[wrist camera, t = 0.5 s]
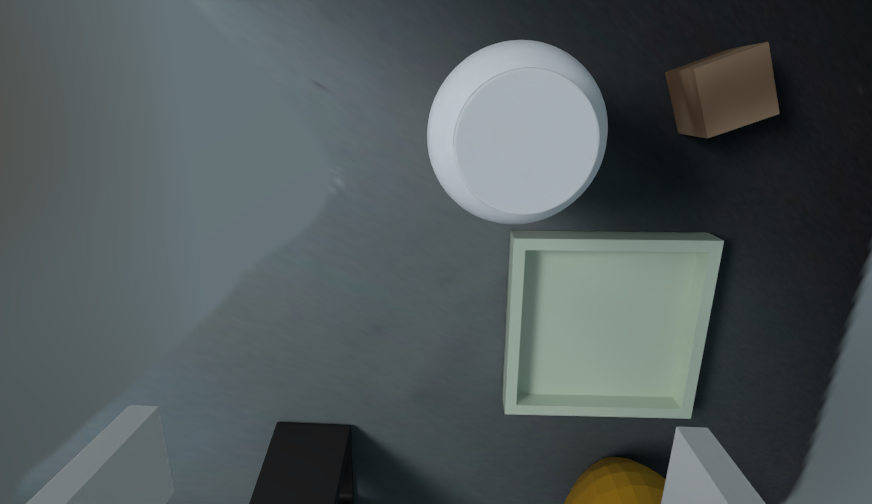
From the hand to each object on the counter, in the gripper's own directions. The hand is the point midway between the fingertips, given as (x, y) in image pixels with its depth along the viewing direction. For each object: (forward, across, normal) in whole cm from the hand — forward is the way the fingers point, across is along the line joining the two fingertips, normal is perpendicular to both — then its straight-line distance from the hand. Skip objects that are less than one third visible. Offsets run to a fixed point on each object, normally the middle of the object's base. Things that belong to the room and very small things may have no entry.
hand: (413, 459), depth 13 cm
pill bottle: (+23, +4, +7) cm, 25 cm away
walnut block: (+23, +17, +9) cm, 30 cm away
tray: (+23, +12, -7) cm, 27 cm away
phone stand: (+23, -10, -21) cm, 33 cm away
